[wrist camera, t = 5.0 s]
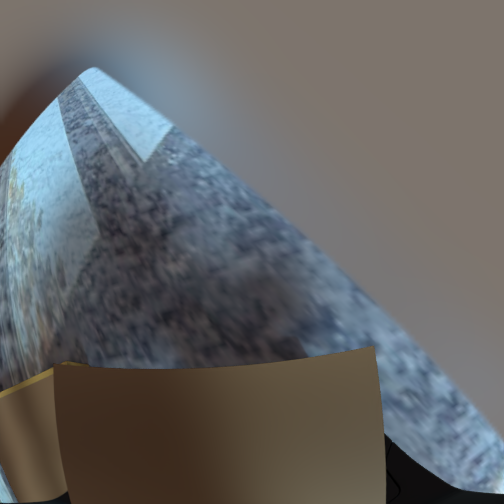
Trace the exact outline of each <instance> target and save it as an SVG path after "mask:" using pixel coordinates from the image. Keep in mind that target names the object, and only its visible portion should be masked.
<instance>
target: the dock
mask: <svg viewBox="0 0 504 504" xmlns="http://www.w3.org/2000/svg"><path fill="white" fill-rule="evenodd" d="M61 364H63V365H74V366H86V367H89V365H87V364H81V363H75V362H70V361H65V362H63V363H61ZM0 463H1V465H2V468H3V470H4V472H5V475H6V477H7V479H8V481H9V484H10V486H11V488H12V490H13V492H14V494H15V496H16V498H17V500H18V502H19V503H27V502H40V501H48V500H52V499H55V498H57V497H59V496H61V495H62V494H64V493H65V492H66V491H68V489H67V485H66V480H65V476H64V471H63V465H62V460H61V454H60V448H59V441H58V433H57V425H56V414H55V401H54V380H53V367H52V368H50V369H48V370H46V371H44V372H42V373H40V374H38V375H36V376H34V377H32V378H30V379H27V380H25V381H23V382H21V383H19V384H17V385H15V386H13V387H11V388H8V389H6V390H4V391H2V392H0Z"/></svg>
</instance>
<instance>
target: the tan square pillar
mask: <svg viewBox="0 0 504 504" xmlns="http://www.w3.org/2000/svg"><path fill="white" fill-rule="evenodd" d="M53 380H54V401H55V414H56V425H57V433H58V441H59V448H60V454H61V460H62V465H63V471H64V476H65V480H66V485H67V489H68V493H69V497H70V501H71V504H386V461H385V440H384V425H383V413H382V403H381V394H380V385H379V377H378V369H377V362H376V355H375V349H374V346H370V347H366V348H361V349H356V350H351V351H345V352H340V353H334V354H328V355H322V356H316V357H310V358H303V359H296V360H288V361H280V362H272V363H262V364H252V365H241V366H228V367H212V368H190V369H122V368H101V367H86V366H74V365H63V364H54V363H53Z"/></svg>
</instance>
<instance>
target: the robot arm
mask: <svg viewBox="0 0 504 504" xmlns="http://www.w3.org/2000/svg"><path fill="white" fill-rule="evenodd" d="M384 440H385V461H386V504H504V494H495V493H483V492H474V491H466V490H462V489H458V488H456V487H453V486H451V485H450V484H448V483H446V482H445V481H443V480H442V479H440V478H439V477H437V476H436V475H434V474H433V473H431V472H430V471H428V470H427V469H425V468H424V467H423V466H421V465H420V464H418V463H417V462H416V461H414V460H413V459H412V458H411V457H409V456H408V455H407V454H406V453H405V452H404V451H403V450H401V449H400V448H399V447H398V446H397V445H396V444H395V443H394V442H392V440H391V439H390V438H389V437H388V436H387V435H386V434H385V433H384ZM0 504H71V501H70V497H69V493H68V491H66V492H65V493H64V494H62V495H61V496H59V497H57V498H55V499H52V500H48V501H40V502H27V503H0Z"/></svg>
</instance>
